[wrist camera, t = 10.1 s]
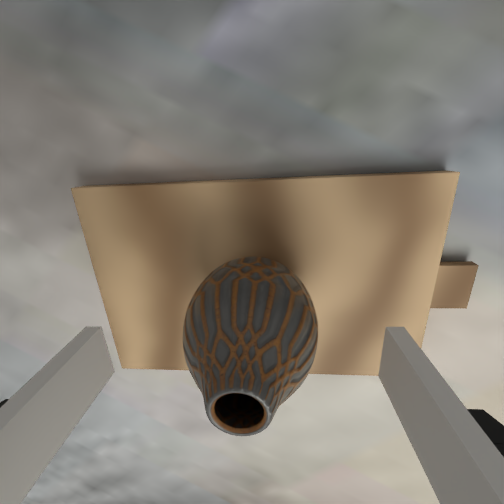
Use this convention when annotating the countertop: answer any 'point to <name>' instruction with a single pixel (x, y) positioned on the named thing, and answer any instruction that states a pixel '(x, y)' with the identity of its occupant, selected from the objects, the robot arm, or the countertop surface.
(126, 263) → the board
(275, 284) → the vase
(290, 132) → the countertop surface
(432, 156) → the countertop surface
